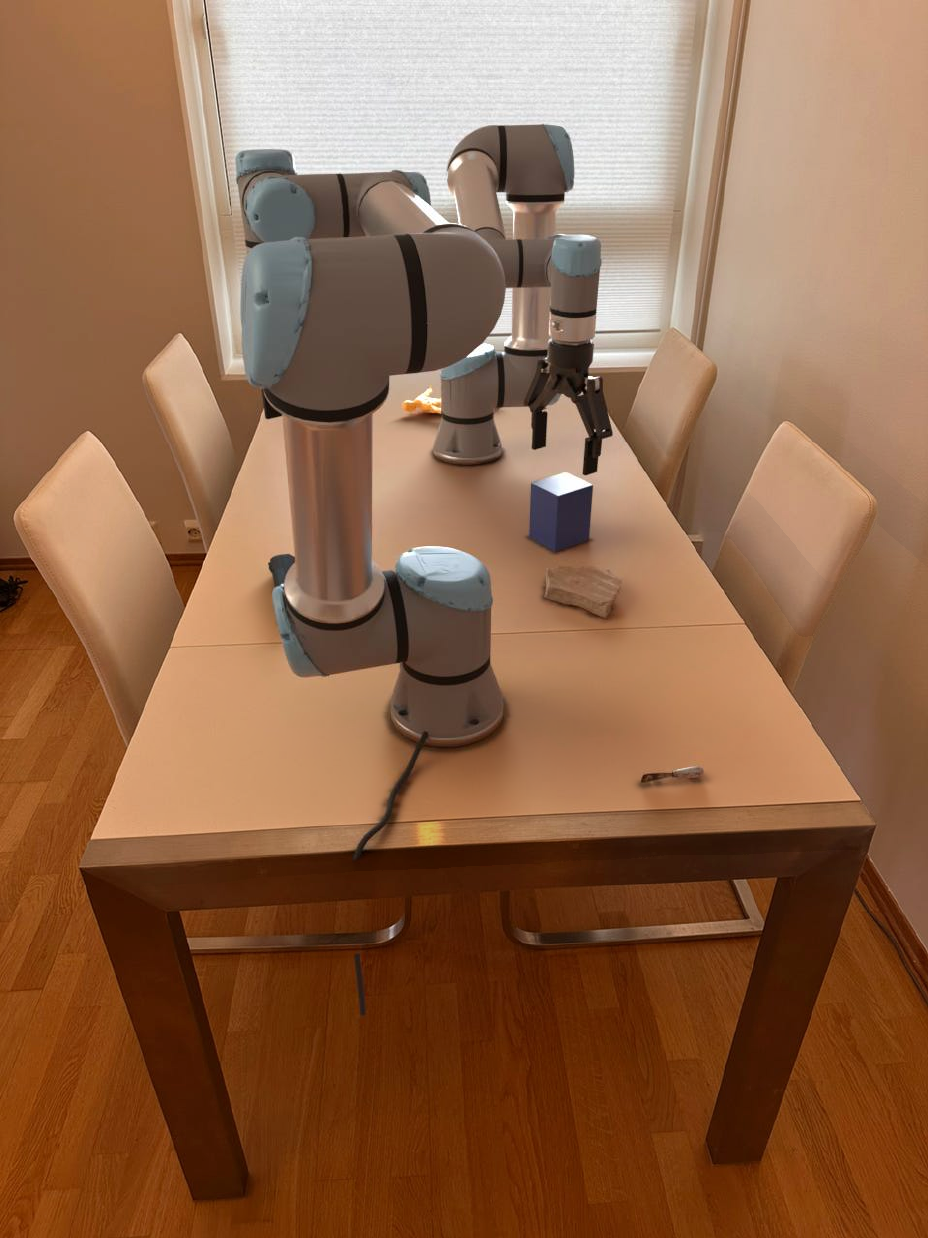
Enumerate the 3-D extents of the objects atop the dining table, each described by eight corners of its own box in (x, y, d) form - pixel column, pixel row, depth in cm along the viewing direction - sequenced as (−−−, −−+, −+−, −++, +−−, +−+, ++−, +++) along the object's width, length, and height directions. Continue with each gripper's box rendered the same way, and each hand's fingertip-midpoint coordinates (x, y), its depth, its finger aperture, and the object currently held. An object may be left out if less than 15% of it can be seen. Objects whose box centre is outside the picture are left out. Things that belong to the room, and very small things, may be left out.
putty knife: (703, 777, 109) (705, 767, 109) (642, 788, 108) (644, 777, 107) (700, 772, 110) (702, 762, 109) (639, 782, 109) (640, 771, 108)
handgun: (352, 612, 143) (277, 623, 140) (336, 561, 157) (267, 570, 155) (351, 595, 141) (274, 606, 139) (334, 545, 156) (265, 554, 153)
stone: (626, 584, 150) (627, 571, 148) (608, 619, 140) (609, 605, 139) (553, 571, 154) (553, 558, 153) (530, 604, 145) (530, 590, 143)
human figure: (395, 413, 223) (394, 398, 221) (438, 390, 237) (438, 375, 235) (462, 429, 215) (462, 413, 213) (502, 404, 229) (503, 388, 227)
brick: (562, 525, 170) (565, 471, 164) (589, 539, 164) (593, 484, 159) (528, 537, 165) (530, 482, 160) (554, 552, 160) (557, 496, 154)
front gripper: (215, 267, 127) (236, 411, 138) (294, 298, 110) (311, 460, 121) (263, 261, 131) (280, 402, 142) (348, 290, 114) (359, 448, 125)
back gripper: (505, 325, 152) (503, 442, 164) (607, 362, 135) (596, 490, 147) (539, 318, 156) (534, 433, 168) (642, 353, 139) (629, 478, 151)
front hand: (294, 429), depth 132 cm, fingers open, 13 cm apart
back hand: (563, 460), depth 157 cm, fingers open, 13 cm apart
